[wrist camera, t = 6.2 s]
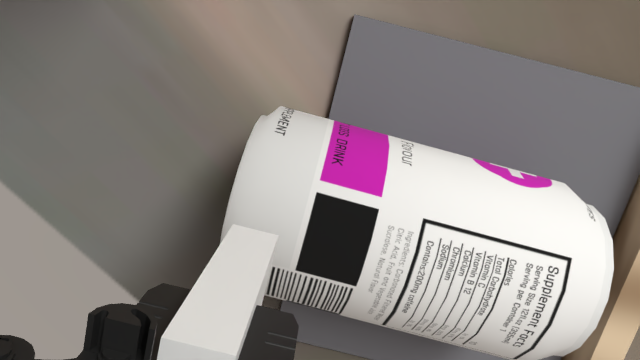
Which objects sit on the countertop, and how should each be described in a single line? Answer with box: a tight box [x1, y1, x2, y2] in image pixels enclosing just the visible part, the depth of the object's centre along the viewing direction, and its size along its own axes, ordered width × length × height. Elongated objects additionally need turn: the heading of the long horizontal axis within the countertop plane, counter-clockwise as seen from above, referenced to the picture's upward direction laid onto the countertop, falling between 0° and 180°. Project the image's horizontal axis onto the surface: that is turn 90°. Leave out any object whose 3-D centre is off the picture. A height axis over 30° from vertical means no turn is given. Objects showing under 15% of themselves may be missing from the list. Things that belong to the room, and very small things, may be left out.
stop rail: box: [561, 175, 640, 360], centre depth 26 cm, size 18×2×2 cm, turn 166°
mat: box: [280, 15, 640, 360], centre depth 27 cm, size 18×16×1 cm
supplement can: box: [220, 106, 614, 360], centre depth 23 cm, size 8×8×15 cm
